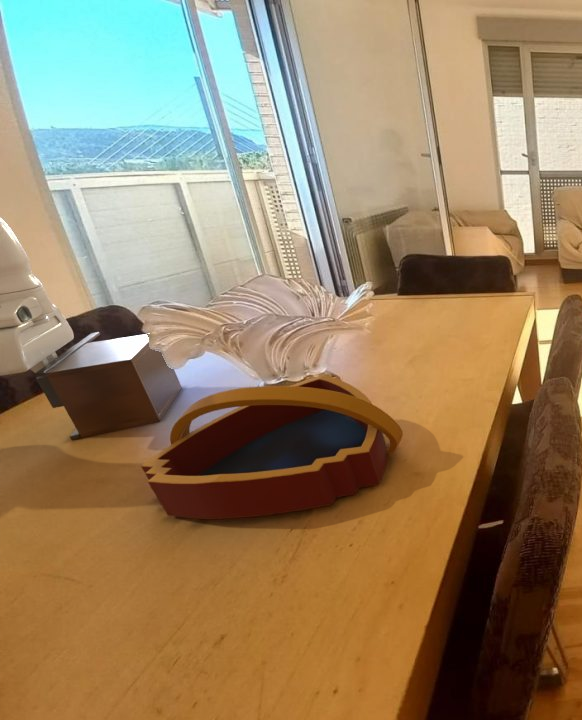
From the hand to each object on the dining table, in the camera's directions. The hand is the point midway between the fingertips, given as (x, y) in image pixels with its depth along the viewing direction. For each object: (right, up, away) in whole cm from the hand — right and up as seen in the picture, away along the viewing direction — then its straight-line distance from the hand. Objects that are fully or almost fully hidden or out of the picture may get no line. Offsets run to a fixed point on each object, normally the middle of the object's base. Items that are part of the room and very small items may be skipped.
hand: (53, 379), depth 87 cm
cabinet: (+4, -6, +11) cm, 13 cm away
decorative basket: (+52, -14, -11) cm, 55 cm away
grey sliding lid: (-1, -6, +7) cm, 10 cm away
